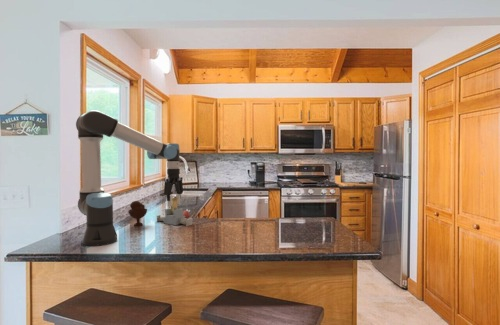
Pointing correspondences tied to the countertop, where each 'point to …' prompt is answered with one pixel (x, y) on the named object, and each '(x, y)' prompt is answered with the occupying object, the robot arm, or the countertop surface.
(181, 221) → the valve
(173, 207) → the brass nipple
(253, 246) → the countertop surface
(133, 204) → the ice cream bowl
